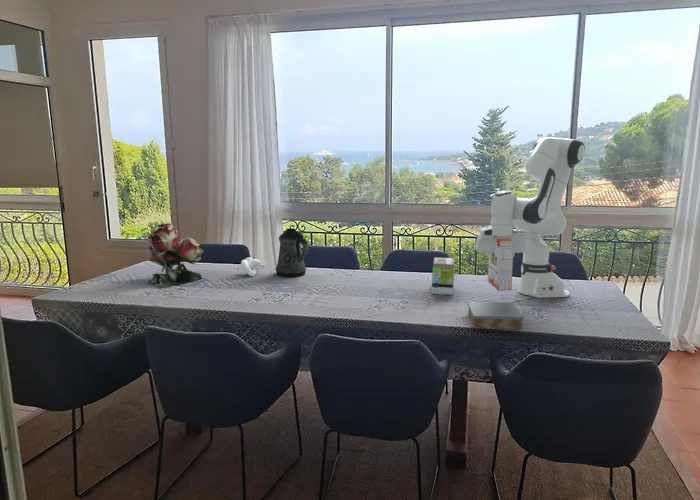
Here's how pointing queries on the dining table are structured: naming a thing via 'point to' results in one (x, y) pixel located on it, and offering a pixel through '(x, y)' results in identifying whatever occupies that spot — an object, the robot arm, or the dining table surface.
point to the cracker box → (501, 265)
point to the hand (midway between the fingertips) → (500, 262)
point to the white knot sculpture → (250, 266)
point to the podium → (495, 315)
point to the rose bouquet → (172, 256)
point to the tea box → (443, 276)
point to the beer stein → (291, 254)
